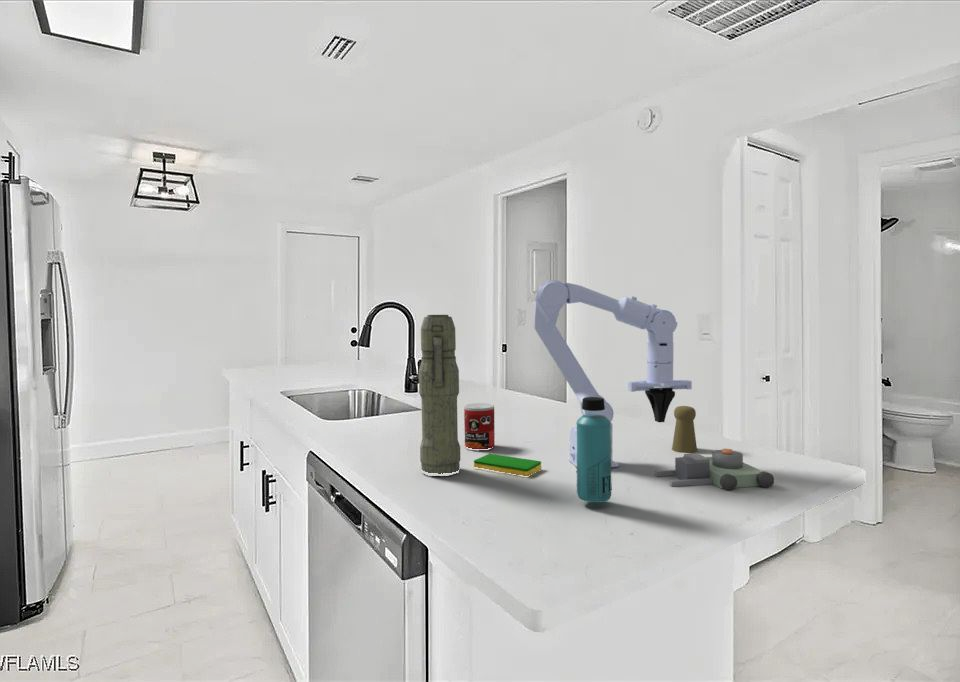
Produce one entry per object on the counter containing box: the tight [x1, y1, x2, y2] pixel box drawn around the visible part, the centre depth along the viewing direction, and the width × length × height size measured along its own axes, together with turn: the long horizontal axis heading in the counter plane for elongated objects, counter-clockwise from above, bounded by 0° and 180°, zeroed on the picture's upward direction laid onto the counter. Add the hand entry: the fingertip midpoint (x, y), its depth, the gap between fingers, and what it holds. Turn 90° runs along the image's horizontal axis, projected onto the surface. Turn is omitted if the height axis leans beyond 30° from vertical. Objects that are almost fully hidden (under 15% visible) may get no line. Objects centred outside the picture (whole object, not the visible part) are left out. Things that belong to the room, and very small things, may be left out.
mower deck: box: [654, 448, 775, 491], centre depth 125 cm, size 20×17×6 cm
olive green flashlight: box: [418, 314, 461, 474], centre depth 132 cm, size 9×12×35 cm
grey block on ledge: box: [674, 452, 710, 480], centre depth 125 cm, size 5×5×5 cm
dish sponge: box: [473, 453, 542, 476], centre depth 134 cm, size 7×14×2 cm, turn 57°
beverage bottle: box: [575, 397, 613, 503], centre depth 109 cm, size 6×7×20 cm
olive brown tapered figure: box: [671, 405, 698, 454], centre depth 149 cm, size 6×6×11 cm
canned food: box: [463, 402, 496, 449], centre depth 154 cm, size 8×8×11 cm
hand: (659, 421), depth 136 cm, fingers closed
